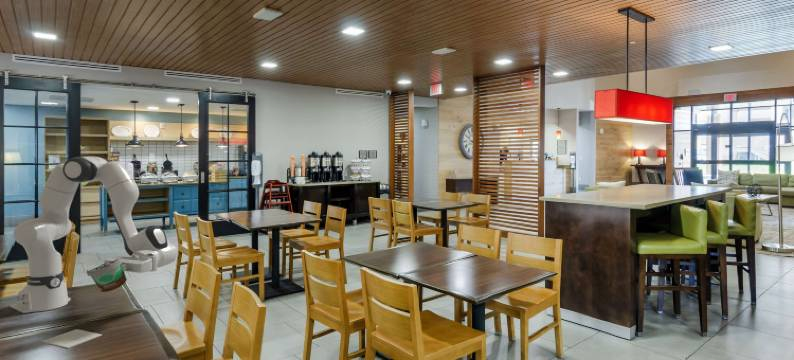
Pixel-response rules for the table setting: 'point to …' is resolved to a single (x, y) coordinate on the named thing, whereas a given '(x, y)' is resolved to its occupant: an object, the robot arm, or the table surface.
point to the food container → (108, 275)
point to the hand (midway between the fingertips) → (109, 269)
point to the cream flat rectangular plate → (72, 338)
